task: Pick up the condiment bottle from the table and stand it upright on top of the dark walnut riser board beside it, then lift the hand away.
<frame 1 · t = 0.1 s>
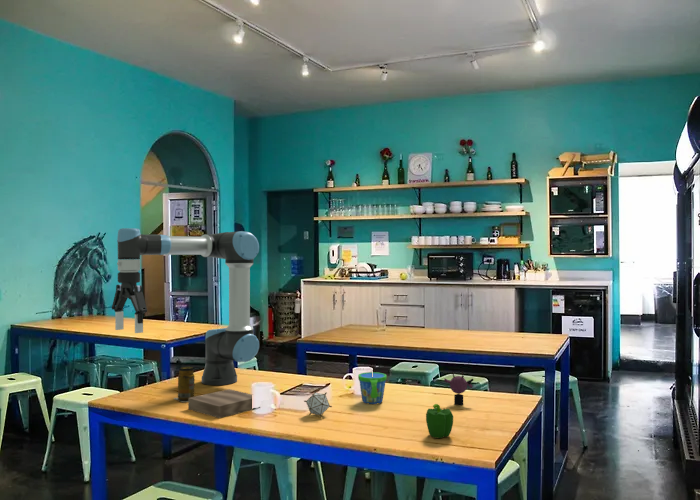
hand: (129, 331, 211), 28 cm above the table, tool pointing down, fingers open, 13 cm apart
game die: (317, 416, 202), on the table
snack cup: (372, 402, 220), on the table
riser: (224, 408, 212), on the table
condiment: (186, 400, 226), on the table
figurine: (458, 404, 217), on the table
bell pepper: (438, 436, 179), on the table
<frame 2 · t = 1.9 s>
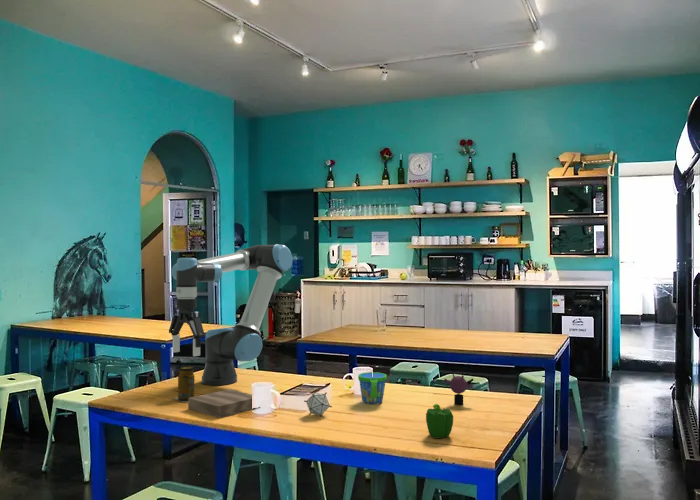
hand: (186, 354, 226), 17 cm above the table, tool pointing down, fingers open, 13 cm apart
nothing on the table moved.
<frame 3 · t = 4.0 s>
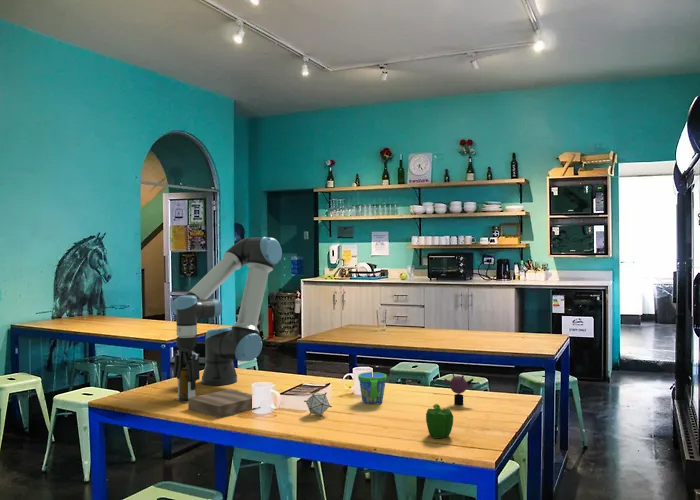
hand: (186, 396, 226), 1 cm above the table, tool pointing down, fingers closed on condiment, 6 cm apart
condiment: (188, 400, 225), on the table, touching gripper
everything else where it was.
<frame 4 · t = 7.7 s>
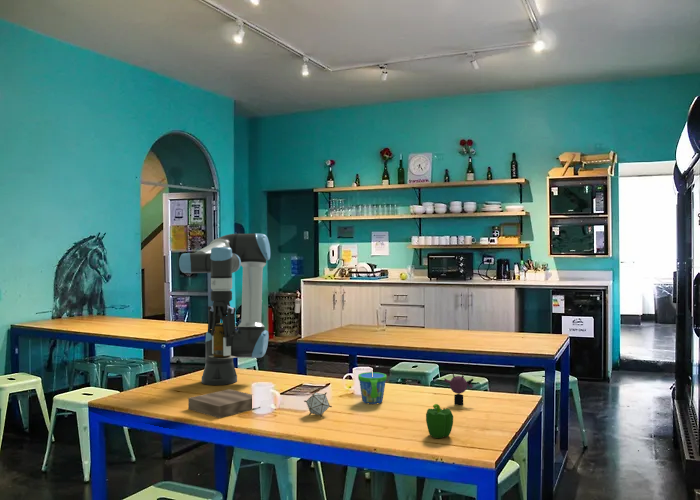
hand: (221, 354, 213), 19 cm above the table, tool pointing down, fingers closed on condiment, 6 cm apart
condiment: (222, 357, 212), point 18 cm above the table, touching gripper
everything else where it was.
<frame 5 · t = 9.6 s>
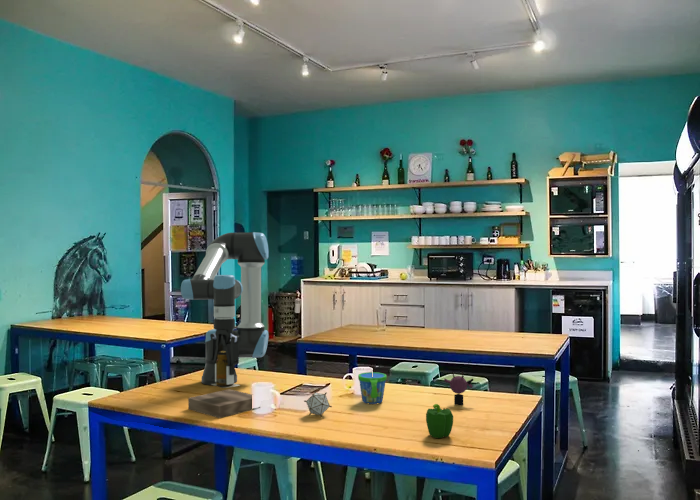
hand: (224, 382, 212), 9 cm above the table, tool pointing down, fingers closed on condiment, 6 cm apart
condiment: (225, 386, 211), point 8 cm above the table, touching gripper
everything else where it was.
when the fingers open (6 cm above the table, at t = 11.0 s): condiment drops 1 cm, resting on riser.
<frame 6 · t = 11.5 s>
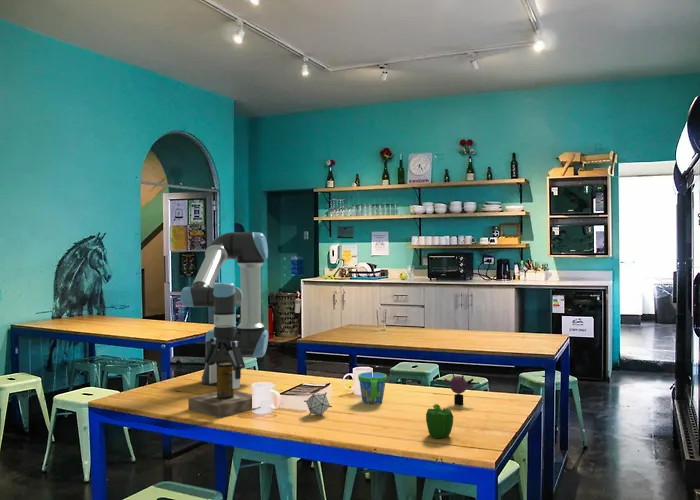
hand: (224, 385, 212), 8 cm above the table, tool pointing down, fingers open, 13 cm apart
condiment: (226, 398, 211), point 4 cm above the table, touching riser
everything else where it was.
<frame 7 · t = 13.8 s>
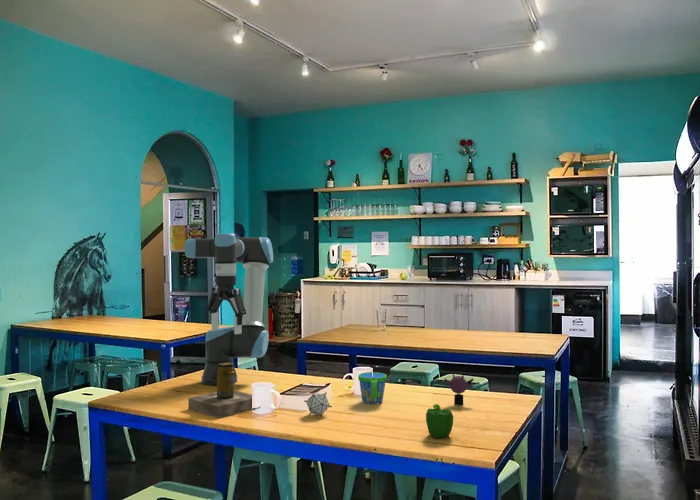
hand: (226, 332, 220), 26 cm above the table, tool pointing down, fingers open, 13 cm apart
nothing on the table moved.
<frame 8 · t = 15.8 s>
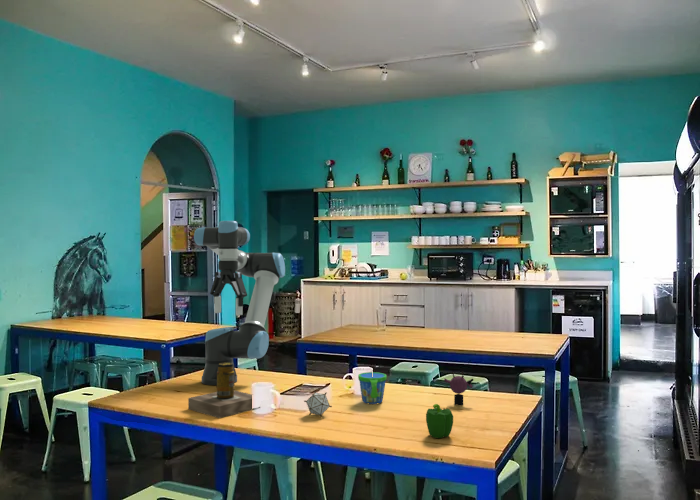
hand: (228, 313, 233), 32 cm above the table, tool pointing down, fingers open, 13 cm apart
nothing on the table moved.
at the end: condiment inside the target area on the riser (1.0 cm from its centre), point 3.8 cm above the riser's base; condiment tilted 0°; the gripper is holding nothing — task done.
